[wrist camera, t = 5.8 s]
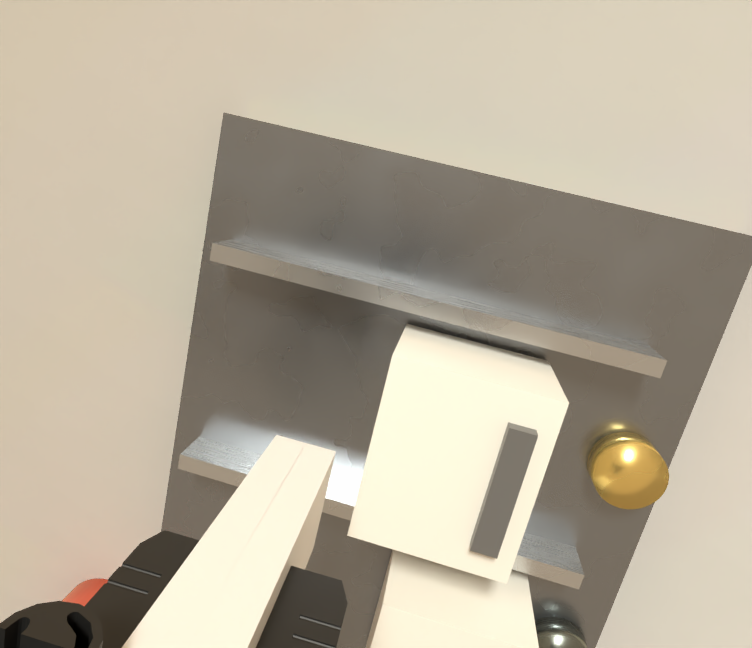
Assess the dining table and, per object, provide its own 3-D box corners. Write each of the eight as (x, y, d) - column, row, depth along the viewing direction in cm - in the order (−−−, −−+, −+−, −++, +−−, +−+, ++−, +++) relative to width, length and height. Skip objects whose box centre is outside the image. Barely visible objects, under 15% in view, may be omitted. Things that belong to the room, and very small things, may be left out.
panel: (172, 578, 26) (128, 635, 23) (245, 120, 21) (202, 105, 18) (549, 699, 25) (563, 781, 21) (733, 234, 19) (790, 242, 16)
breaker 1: (369, 473, 21) (344, 543, 17) (406, 323, 20) (390, 359, 15) (499, 511, 21) (507, 593, 16) (548, 360, 19) (571, 408, 15)
